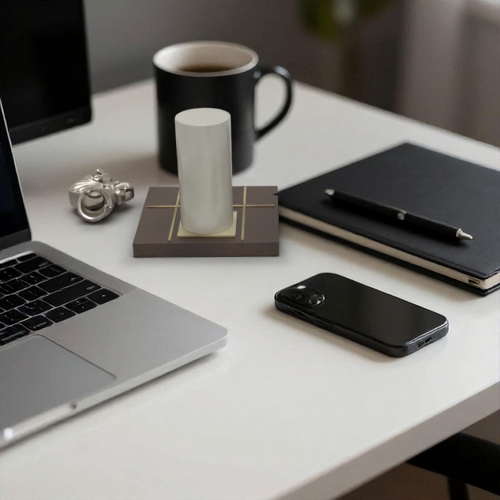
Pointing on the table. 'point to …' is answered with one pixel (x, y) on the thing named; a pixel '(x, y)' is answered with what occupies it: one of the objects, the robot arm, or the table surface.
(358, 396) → the table surface
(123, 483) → the table surface
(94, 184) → the ornament
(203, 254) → the board
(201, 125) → the white cylinder
